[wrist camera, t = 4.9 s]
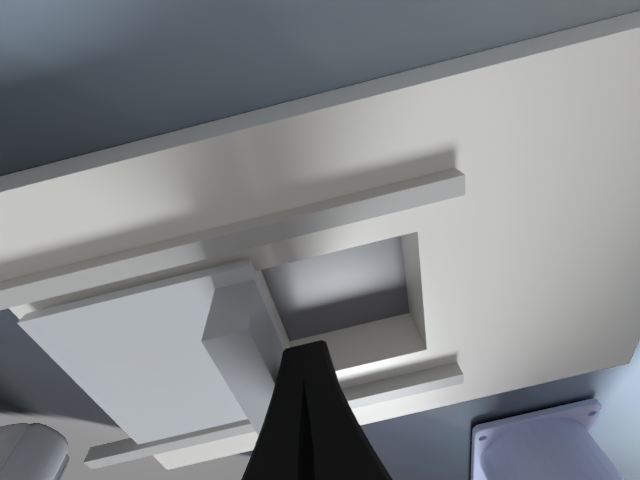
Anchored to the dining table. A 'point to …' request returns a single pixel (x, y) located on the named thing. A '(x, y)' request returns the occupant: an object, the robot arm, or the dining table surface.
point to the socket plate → (378, 225)
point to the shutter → (170, 351)
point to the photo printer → (32, 452)
